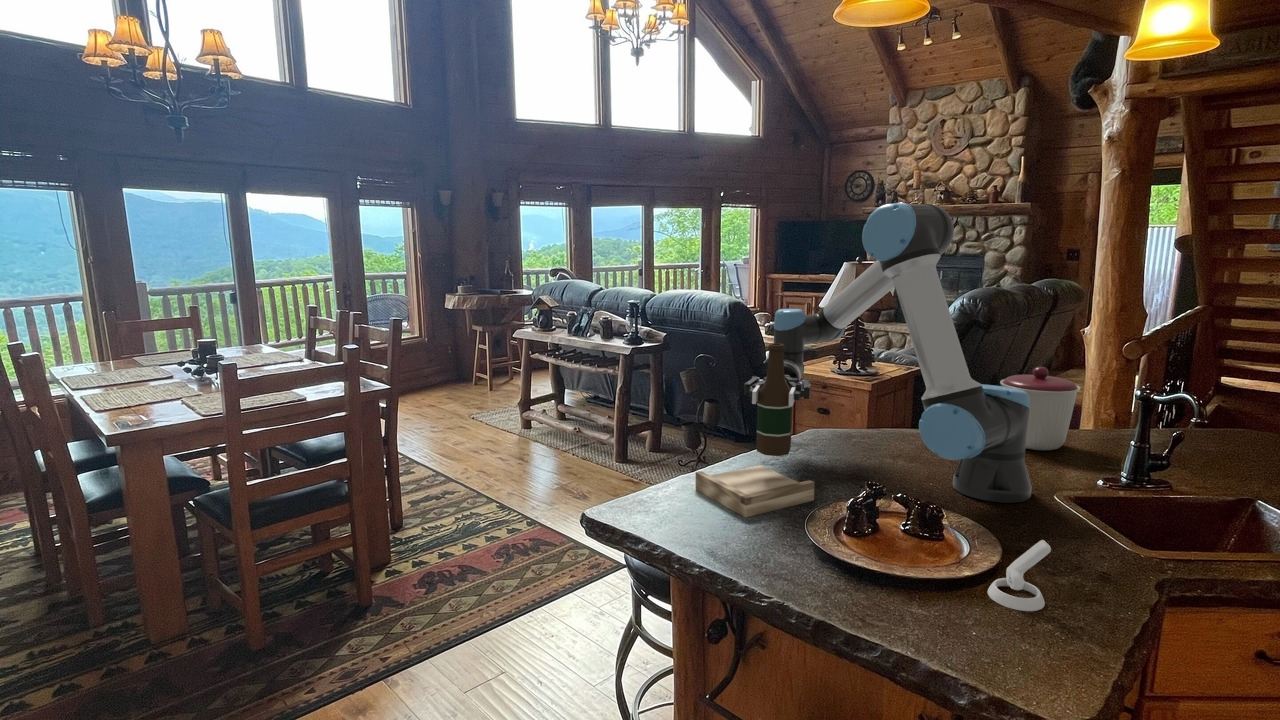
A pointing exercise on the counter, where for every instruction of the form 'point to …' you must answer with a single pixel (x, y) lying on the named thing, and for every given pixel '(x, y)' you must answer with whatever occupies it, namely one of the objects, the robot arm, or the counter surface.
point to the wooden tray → (754, 490)
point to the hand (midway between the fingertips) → (772, 398)
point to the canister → (1046, 407)
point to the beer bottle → (774, 407)
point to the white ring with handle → (1021, 581)
